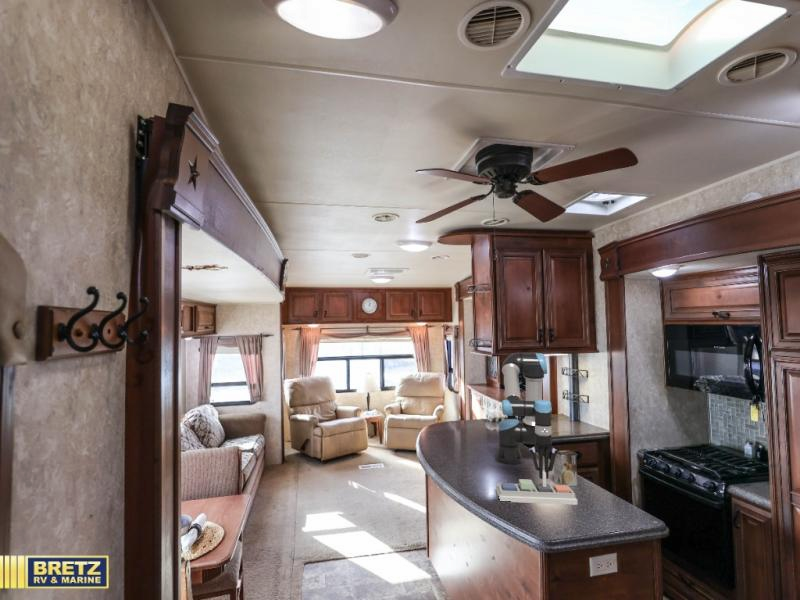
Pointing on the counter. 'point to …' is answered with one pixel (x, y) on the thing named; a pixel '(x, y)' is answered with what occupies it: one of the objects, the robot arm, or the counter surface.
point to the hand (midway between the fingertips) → (543, 485)
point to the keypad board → (536, 496)
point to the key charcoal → (543, 488)
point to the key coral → (561, 489)
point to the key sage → (526, 484)
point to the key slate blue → (508, 487)
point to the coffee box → (565, 468)
